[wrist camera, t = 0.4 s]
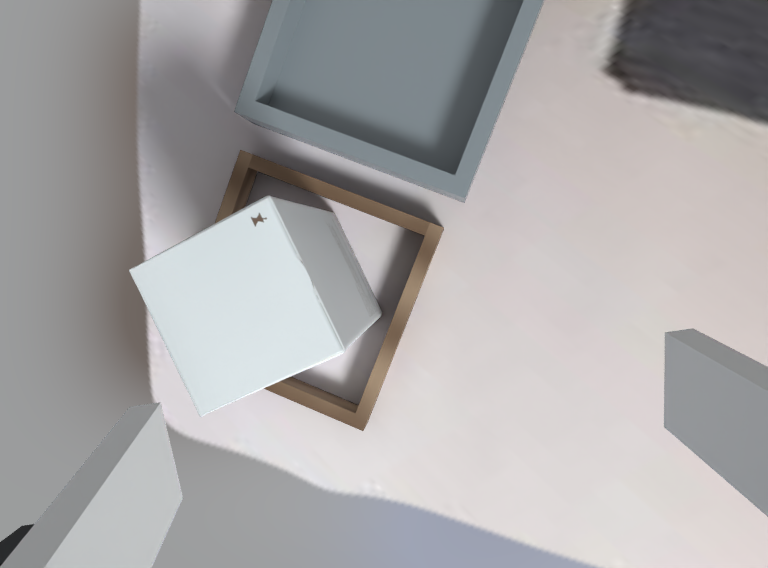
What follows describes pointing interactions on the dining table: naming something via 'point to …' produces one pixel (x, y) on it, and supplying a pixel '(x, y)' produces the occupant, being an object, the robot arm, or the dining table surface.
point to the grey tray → (390, 81)
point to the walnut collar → (361, 413)
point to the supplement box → (256, 299)
